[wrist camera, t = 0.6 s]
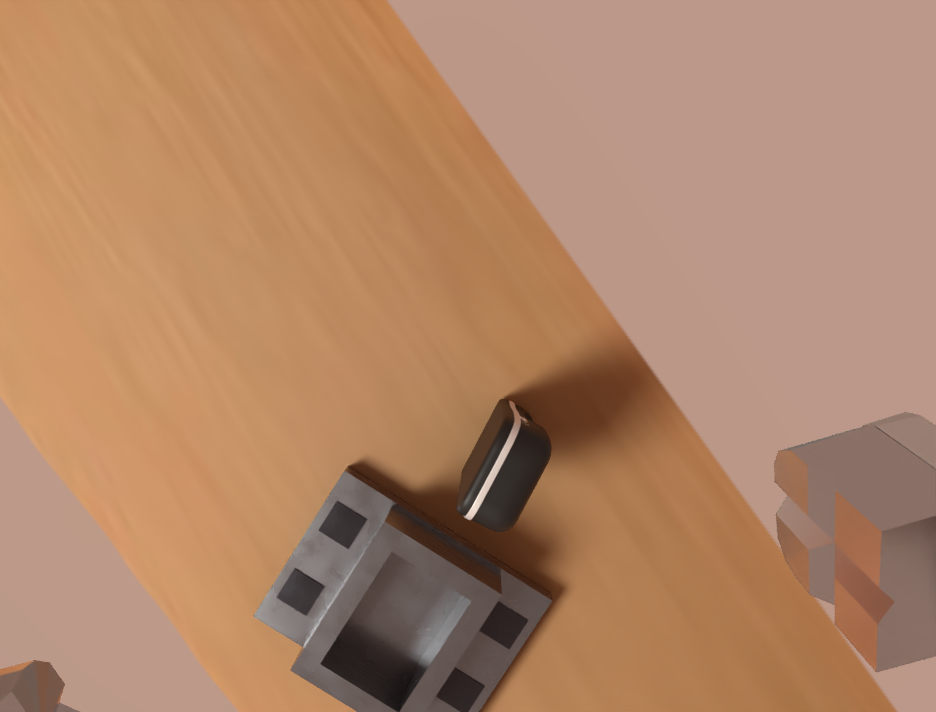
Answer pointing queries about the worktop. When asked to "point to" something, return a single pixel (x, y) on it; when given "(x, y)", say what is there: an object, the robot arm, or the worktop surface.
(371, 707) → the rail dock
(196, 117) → the worktop surface
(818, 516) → the robot arm
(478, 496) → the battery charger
